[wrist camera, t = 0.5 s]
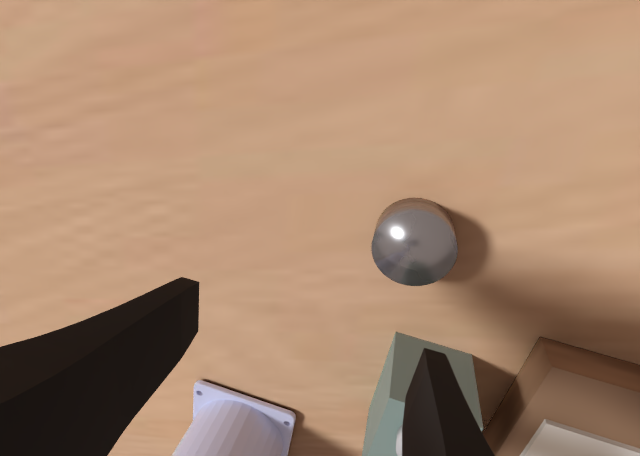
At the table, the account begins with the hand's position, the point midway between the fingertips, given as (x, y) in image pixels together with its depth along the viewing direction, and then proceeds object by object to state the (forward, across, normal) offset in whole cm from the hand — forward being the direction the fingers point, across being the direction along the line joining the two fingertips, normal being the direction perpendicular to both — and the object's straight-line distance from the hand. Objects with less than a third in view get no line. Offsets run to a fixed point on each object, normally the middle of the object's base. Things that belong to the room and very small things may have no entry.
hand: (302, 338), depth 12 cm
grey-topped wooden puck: (+10, -3, 0) cm, 10 cm away
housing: (+10, -6, +10) cm, 15 cm away
